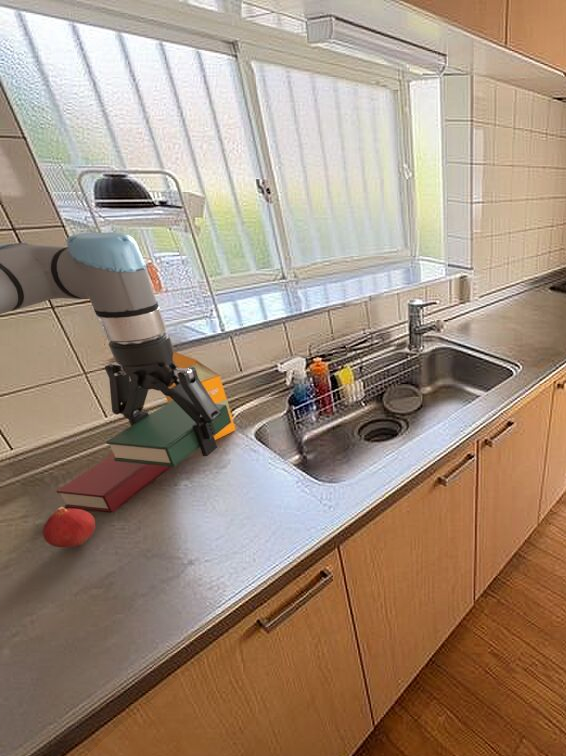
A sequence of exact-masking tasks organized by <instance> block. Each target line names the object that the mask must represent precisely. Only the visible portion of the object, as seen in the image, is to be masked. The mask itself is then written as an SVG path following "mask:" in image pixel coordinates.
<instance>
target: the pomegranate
mask: <svg viewBox="0 0 566 756" xmlns="http://www.w3.org/2000/svg"><path fill="white" fill-rule="evenodd" d="M95 529H96V521H95V517H94V516H93V515H92V513H90V512H88V511H87V510H85V509H75V508H66V507H64V506H61V507H58V508H57V509H56V511H55V512H54V513H53V514H51V515H50V516H49V518H48V519H47V520H46V522H45V524H44V525H43V527H42V535H43V539H44V541H45V542H46V543H47V544H48V545H51V546H53V547H57V548H72V547H79V546H82V545H83V544H84V543H85V542H86V541H87V540H88V539H89V538H90V537H91V536H92V534H93V533H94V531H95Z"/></svg>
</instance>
